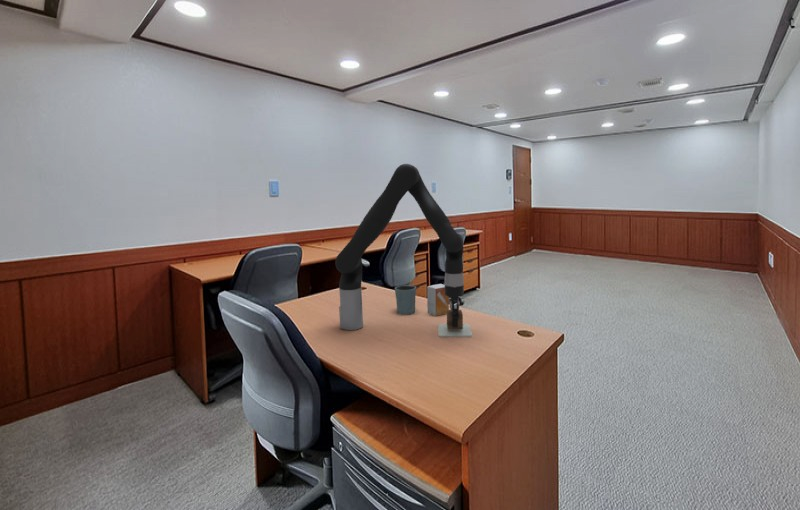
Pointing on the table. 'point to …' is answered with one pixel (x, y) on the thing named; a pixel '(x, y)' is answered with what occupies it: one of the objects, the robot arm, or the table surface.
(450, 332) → the pad
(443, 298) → the small box
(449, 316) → the cube
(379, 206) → the robot arm
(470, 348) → the table surface
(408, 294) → the grey cup
